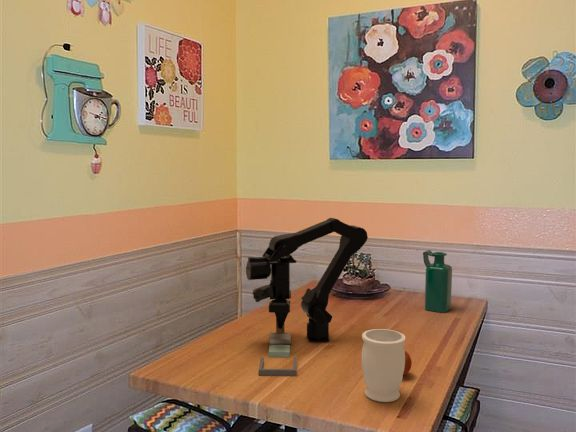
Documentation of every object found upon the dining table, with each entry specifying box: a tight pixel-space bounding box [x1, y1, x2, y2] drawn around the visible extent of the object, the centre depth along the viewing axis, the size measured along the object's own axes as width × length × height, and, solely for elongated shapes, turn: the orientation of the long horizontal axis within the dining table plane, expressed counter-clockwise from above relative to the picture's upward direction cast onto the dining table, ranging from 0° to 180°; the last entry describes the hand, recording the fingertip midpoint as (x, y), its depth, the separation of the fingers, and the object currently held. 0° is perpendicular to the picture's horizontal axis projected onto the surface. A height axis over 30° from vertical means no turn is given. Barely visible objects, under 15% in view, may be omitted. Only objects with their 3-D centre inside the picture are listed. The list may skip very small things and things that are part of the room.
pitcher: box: [422, 249, 453, 314], centre depth 201 cm, size 10×8×22 cm
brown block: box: [269, 318, 292, 345], centre depth 165 cm, size 6×4×9 cm, turn 89°
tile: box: [268, 344, 291, 358], centre depth 157 cm, size 6×6×2 cm
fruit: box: [403, 350, 413, 376], centre depth 141 cm, size 7×7×8 cm
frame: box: [258, 356, 297, 377], centre depth 146 cm, size 10×9×2 cm
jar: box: [361, 328, 406, 403], centre depth 129 cm, size 11×10×15 cm
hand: (280, 326), depth 165 cm, fingers closed on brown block, 2 cm apart
